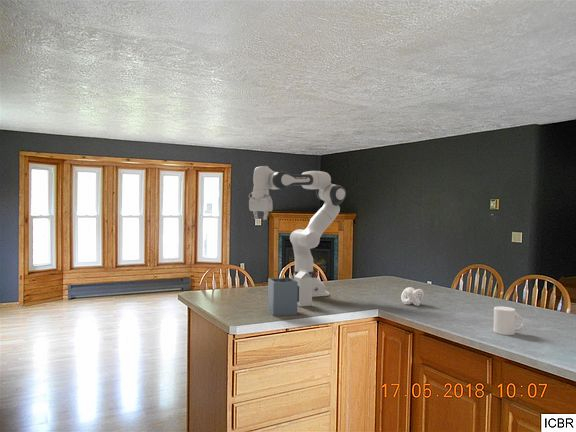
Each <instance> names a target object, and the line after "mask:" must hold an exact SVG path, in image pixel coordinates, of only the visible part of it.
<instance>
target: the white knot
mask: <svg viewBox="0 0 576 432" xmlns="http://www.w3.org/2000/svg"><path fill="white" fill-rule="evenodd" d="M424 295H425V293H424V290H423V289H421V288H417V289H415V288H414V287H406V288H405V289H404V290H403V291H402V292H401V296H400V299H401V302H402V303H403V304H404V305H406V306H409V305H411V304H413V305H414V306H415V307H419V306H420V305H421V301H422V299H423V297H424Z"/></svg>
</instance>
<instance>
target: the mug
mask: <svg viewBox="0 0 576 432" xmlns="http://www.w3.org/2000/svg"><path fill="white" fill-rule="evenodd" d="M516 317H517V318H518V319H520V321H521V324H520V325H519V326H516ZM525 325H526V324H525V320H524V318H523V317H522V316H521V314H520V313H518V312H517V311H516V309H515V308H513V307H509V306H502V305H501V306H494V307H493V328H492V329H493V332H494V333H496V334H497V335H503V336H514V335H515V334H516V332H518V331H522V330H523V329H524V328H525Z"/></svg>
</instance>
